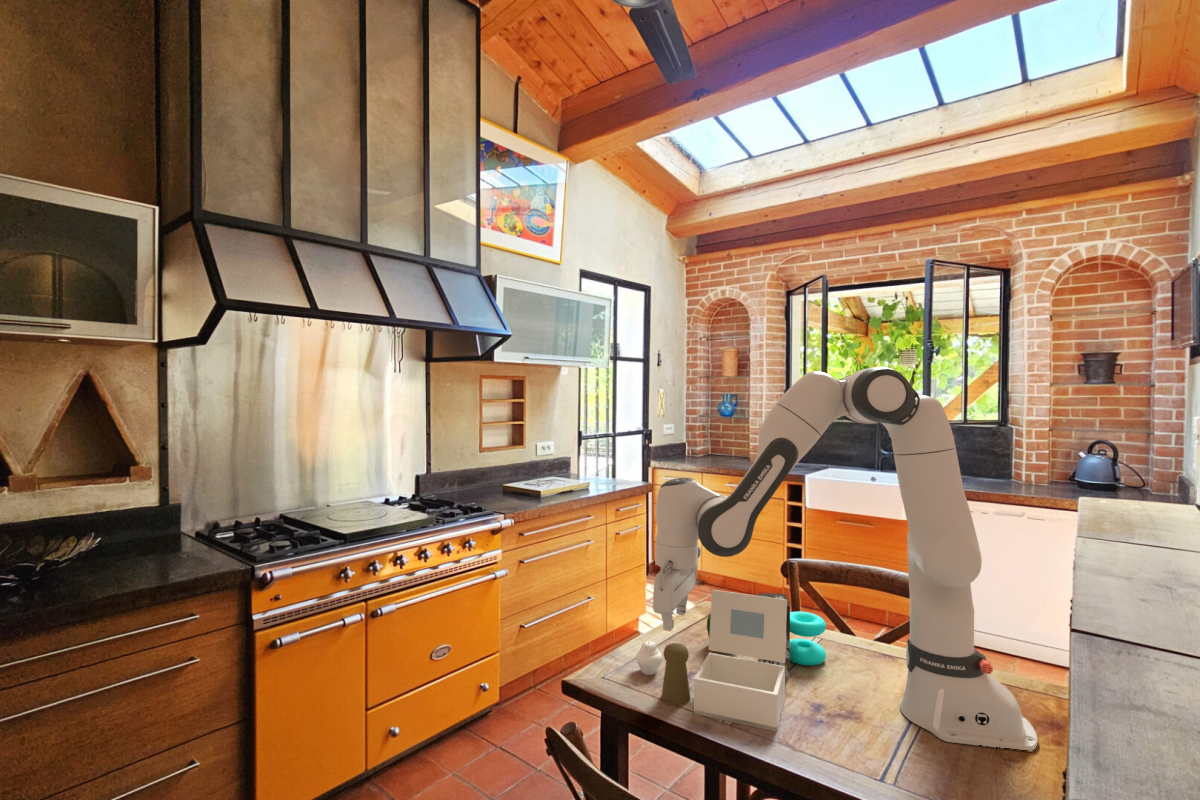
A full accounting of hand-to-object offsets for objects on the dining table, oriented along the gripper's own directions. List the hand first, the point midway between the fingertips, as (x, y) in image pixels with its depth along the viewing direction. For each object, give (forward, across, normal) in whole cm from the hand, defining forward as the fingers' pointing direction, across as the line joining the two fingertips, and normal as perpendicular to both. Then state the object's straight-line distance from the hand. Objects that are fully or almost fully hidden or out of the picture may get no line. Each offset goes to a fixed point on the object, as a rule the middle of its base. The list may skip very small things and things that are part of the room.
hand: (674, 621), depth 124 cm
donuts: (+16, +31, -24) cm, 42 cm away
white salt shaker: (+16, +9, +8) cm, 21 cm away
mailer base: (+16, +2, -14) cm, 21 cm away
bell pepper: (+16, +29, -4) cm, 34 cm away
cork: (+16, 0, 0) cm, 16 cm away
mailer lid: (+2, +10, -13) cm, 17 cm away
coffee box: (+16, +23, -18) cm, 33 cm away
